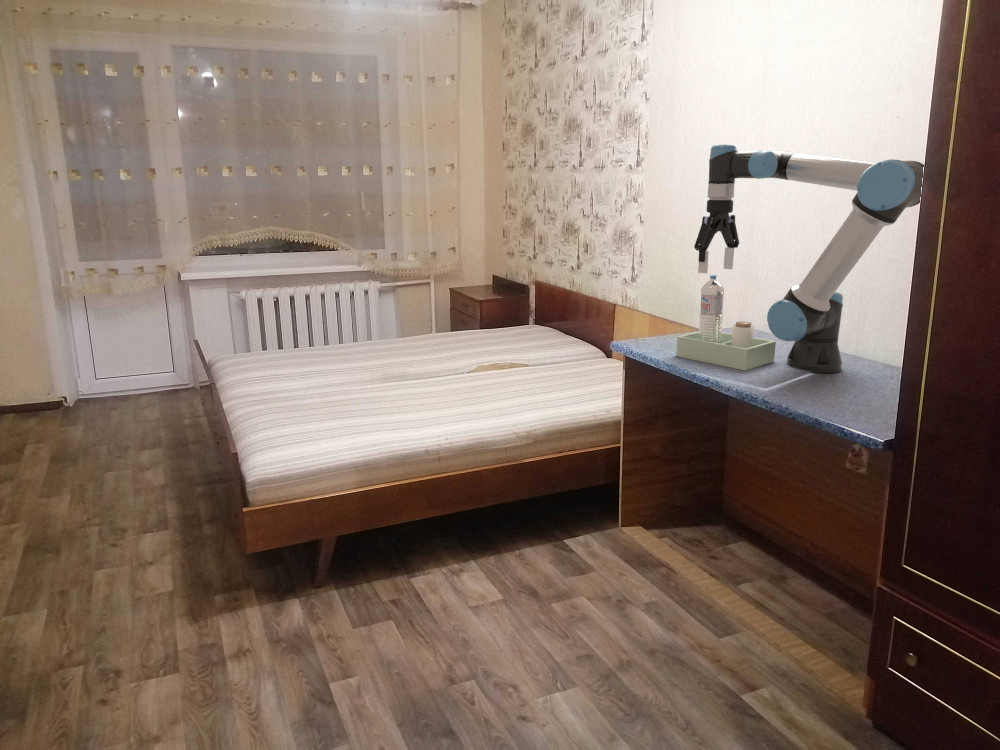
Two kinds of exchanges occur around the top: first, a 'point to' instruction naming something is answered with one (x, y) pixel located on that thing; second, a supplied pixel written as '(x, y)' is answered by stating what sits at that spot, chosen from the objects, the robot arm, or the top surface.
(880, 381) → the top surface
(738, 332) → the jar
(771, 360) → the tote
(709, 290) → the water bottle
